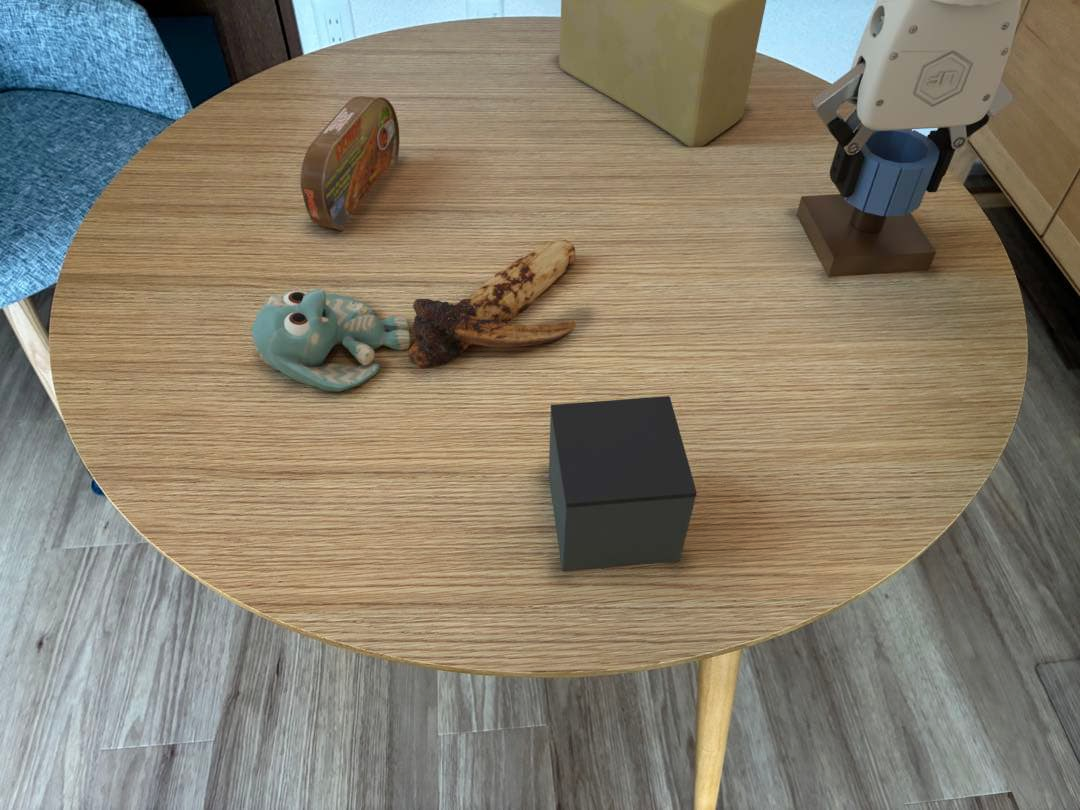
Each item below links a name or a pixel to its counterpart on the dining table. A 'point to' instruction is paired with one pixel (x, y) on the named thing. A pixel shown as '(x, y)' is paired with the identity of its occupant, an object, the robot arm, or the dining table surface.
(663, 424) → the block
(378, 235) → the dining table surface
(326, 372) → the teal creature figurine
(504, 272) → the bone fish hook
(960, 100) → the robot arm
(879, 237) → the platform
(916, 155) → the ring
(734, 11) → the cheese
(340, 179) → the tin
